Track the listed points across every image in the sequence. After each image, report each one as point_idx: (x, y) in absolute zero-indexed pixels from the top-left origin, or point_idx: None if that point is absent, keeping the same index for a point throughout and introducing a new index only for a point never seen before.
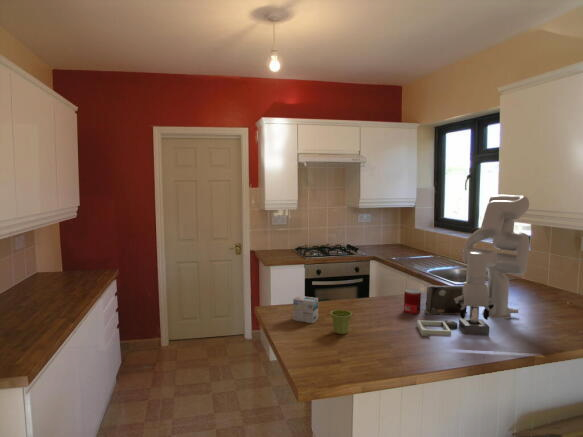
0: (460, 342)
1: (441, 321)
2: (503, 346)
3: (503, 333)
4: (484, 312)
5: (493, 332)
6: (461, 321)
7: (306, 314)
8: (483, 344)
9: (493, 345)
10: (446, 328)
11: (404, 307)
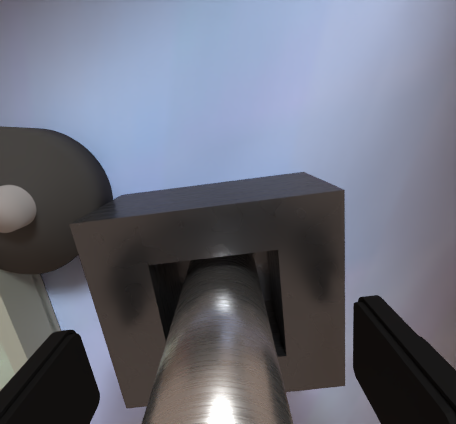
0: (126, 410)
1: None
2: (353, 406)
3: (452, 202)
4: (405, 396)
5: (382, 200)
6: (97, 312)
7: None
8: None
9: (302, 406)
10: (6, 342)
11: None
